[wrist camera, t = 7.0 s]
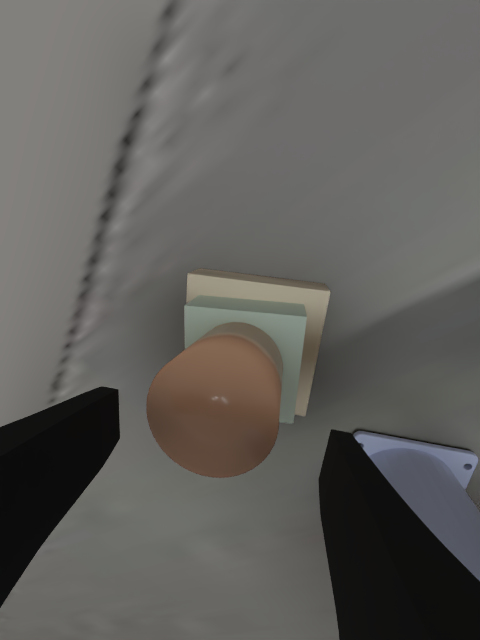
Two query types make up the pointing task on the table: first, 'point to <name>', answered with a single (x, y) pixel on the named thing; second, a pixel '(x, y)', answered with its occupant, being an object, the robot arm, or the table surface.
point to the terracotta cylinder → (219, 401)
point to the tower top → (269, 316)
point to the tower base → (277, 291)
